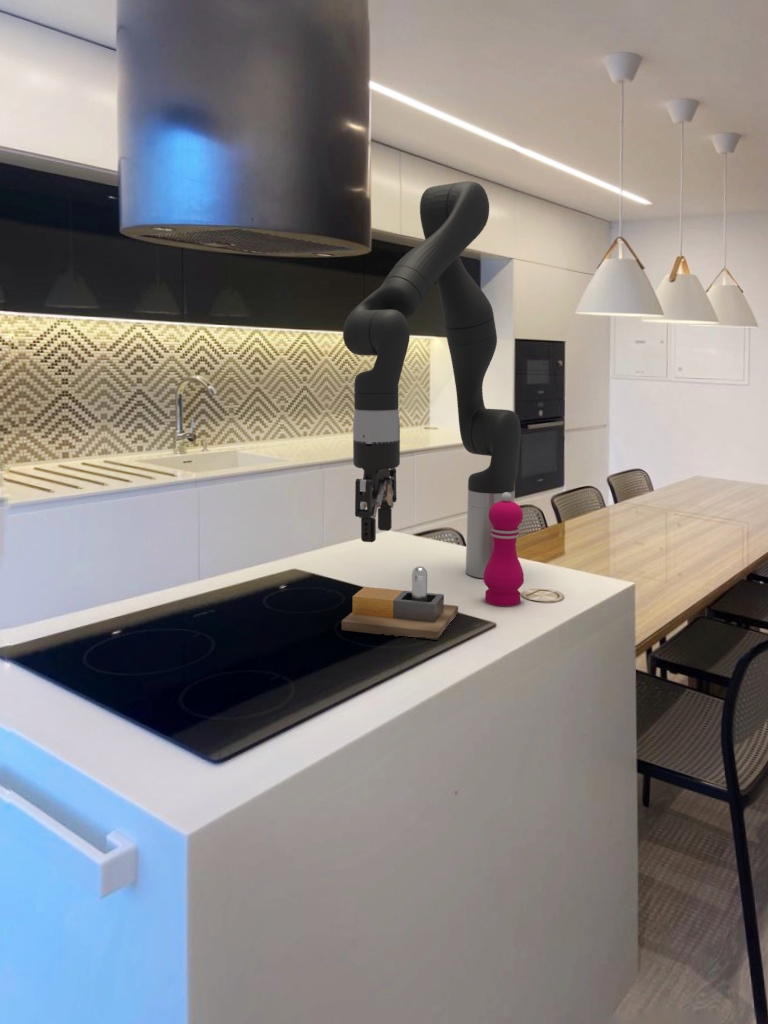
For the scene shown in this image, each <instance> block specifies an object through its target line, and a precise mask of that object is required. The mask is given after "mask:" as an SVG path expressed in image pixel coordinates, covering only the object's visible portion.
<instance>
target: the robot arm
mask: <svg viewBox="0 0 768 1024" xmlns="http://www.w3.org/2000/svg"><path fill="white" fill-rule="evenodd" d="M489 216H490V202H489V197H488V194H487V192H486V189H485V188H484V187H483V186H482V185H481V184H480V183H478V182H476V181H470V180H469V181H459V182H454V183H452V182H451V183H447V184H446V183H445V184H441V185H433V186H430V187H428V188H426V189H425V190H424V191H423V192H422V195H421V197H420V202H419V217H420V224H421V227H422V228H421V229H422V232H423V236H424V241H422V242H420V243H419V244H418V245H416V246H415V247H414V248H412V249H410V251H408V252H407V253H405V254H404V256H402V257H401V258H400V259H399V260H398V261H397V262H396V263H395V265H394V266H393V268H392V269H391V270H390V272H389V274H388V275H387V276H386V278H385V279H384V281H383V282H382V284H381V285H380V286H379V287H378V288H377V289H376V290H374V291H373V292H372V293H371V294H369V295H368V296H367V297H366V298H365V299H363V300H362V301H361V302H360V303H359V304H357V306H355V307H354V309H352V311H351V312H350V313H349V314H348V316H347V318H346V320H345V322H344V325H343V330H342V338H343V342H344V345H345V347H346V348H347V350H348V351H349V352H351V353H352V354H354V355H358V356H363V357H364V356H366V357H367V356H370V357H371V356H376V360H375V363H374V365H373V368H372V369H370V370H365V371H362V372H359V373H358V374H357V375H356V376H355V378H354V383H353V384H354V387H353V388H354V395H353V397H354V398H353V399H354V401H353V402H354V413H353V421H352V430H353V431H352V435H353V436H352V442H353V444H352V445H353V446H352V449H353V451H352V452H353V453H352V454H353V455H352V456H353V458H352V459H353V461H352V462H353V466H354V467H356V468H358V469H362V470H363V474H362V475H363V477H362V478H356V479H355V487H354V489H355V494H354V495H355V496H354V497H355V498H354V501H355V502H354V515H355V517H357V518H359V519H360V523H361V524H360V526H361V527H360V531H361V532H360V534H361V535H360V536H361V538H360V539H361V541H362V542H364V543H374V542H375V541H376V539H377V538H376V537H377V535H376V534H377V531H376V529H377V528H378V530H379V531H384V532H385V531H386V532H388V531H391V529H392V527H393V526H392V519H393V518H392V511H393V510H392V509H393V507H394V505H395V503H396V502H397V499H398V498H397V469H396V468H397V467H400V464H401V462H400V461H401V459H400V458H401V451H400V449H401V425H400V424H401V422H400V416H399V415H400V414H399V382H400V379H401V375H402V372H403V367H404V364H405V359H406V356H407V352H408V348H409V345H410V336H411V334H410V326H409V323H408V321H407V319H410V318H411V317H413V316H414V315H415V313H416V312H417V311H418V309H420V307H421V305H422V304H423V302H424V300H425V299H426V297H427V296H428V294H429V293H430V291H431V289H432V288H433V286H434V285H435V283H436V285H437V288H438V289H437V290H438V295H439V299H440V304H441V310H442V317H443V324H444V330H445V335H446V340H447V346H448V349H449V350H448V351H449V354H450V355H449V356H450V360H451V364H452V371H453V377H454V385H455V392H456V401H457V413H458V425H459V432H460V433H459V434H460V440H461V442H462V445H463V447H464V449H465V450H466V451H467V452H468V453H470V454H473V455H478V456H480V455H481V456H488V457H490V462H489V466H488V467H487V468H485V469H484V470H482V471H478V472H474V473H472V474H470V475H469V476H468V482H467V514H466V516H467V518H466V520H467V521H466V551H465V552H466V554H465V573H466V575H469V577H470V576H471V577H474V578H478V579H483V577H484V571H485V568H486V566H487V564H488V562H489V560H490V558H491V555H492V552H493V546H494V540H493V536H491V533H492V530H491V528H492V527H493V525H492V523H491V522H490V520H489V511H490V508H491V507H492V505H493V504H495V503H497V502H499V501H503V500H502V499H501V496H502V494H503V493H505V492H508V493H510V494H511V500H510V501H512V502H515V489H516V488H515V486H516V481H517V476H518V472H519V460H520V448H521V440H522V438H521V437H522V426H521V420H520V418H519V415H518V414H517V413H516V412H515V411H513V410H510V409H502V408H501V409H498V408H486V406H485V402H484V394H483V386H484V385H483V383H484V379H485V375H486V374H487V371H488V369H489V367H490V364H491V363H492V359H493V357H494V355H495V352H496V348H497V344H498V336H497V329H496V321H495V317H494V309H493V307H492V304H491V302H490V300H489V298H488V297H487V296H486V294H485V293H484V291H483V290H482V289H481V287H480V286H479V285H478V284H477V282H476V281H475V280H474V279H473V278H472V275H470V274H469V272H468V271H467V269H466V267H465V266H464V264H463V262H462V259H461V256H460V255H462V253H463V252H464V251H465V250H466V249H467V248H468V247H469V246H470V244H472V243H473V242H474V241H475V240H476V238H477V237H478V236H480V234H481V233H482V232H483V230H484V229H485V227H486V226H487V223H488V219H489ZM376 517H377V522H376ZM376 523H377V524H376ZM376 527H377V528H376Z"/></svg>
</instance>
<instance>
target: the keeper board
mask: <svg viewBox="0 0 768 1024" xmlns="http://www.w3.org/2000/svg"><path fill="white" fill-rule="evenodd" d="M457 614H458V615H459V605H453V604H444V612H443V613H442V614H441V616H440V617H439V618H438V619H437V621H436V622H435V623H433V622H424V621H414V620H405V619H396V618H386V617H377V616H368V615H358V614H353V611H352V612H351V613H349V614H348V615H347V616H346V617H345V618H343V619H342V620H341V631H349V632H357V633H363V634H364V633H365V634H373V635H381V634H384V635H383V636H390V635H394V636H393V637H398V636H408V637H426V638H438V637H439V636H440V635H441V634H442V632H443V631H444V630H445V629H446V627H447V626H448V625H449V623H450V622H451V621H452V620H453V619H454V618H455V617H457V616H458V615H457ZM456 615H457V616H456ZM455 619H456V618H455ZM455 619H454V620H455ZM454 620H453V621H454Z"/></svg>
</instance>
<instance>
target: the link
mask: <svg viewBox="0 0 768 1024" xmlns="http://www.w3.org/2000/svg"><path fill="white" fill-rule="evenodd" d="M444 605H445V593H444V594H443V593H432V592H427V602H422V601H412V590H401V589H390V588H382V587H372V586H371V587H370V586H363V587H362V588H361V589H360V590H358V591H357V592H356V593H355V594H354V595H352V612H353V614H358V615H368V616H377V617H386V618H396V619H405V620H414V621H424V622H433V623H435V622H436V621H437V619H438V618H439V617H440V616H441V614H442V613H443V612H444Z"/></svg>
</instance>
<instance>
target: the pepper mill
mask: <svg viewBox="0 0 768 1024" xmlns="http://www.w3.org/2000/svg"><path fill="white" fill-rule="evenodd" d="M501 499H502V500H503V501H499V502H497V503H495V504H493V505H492V507H491V508H490V511H489V520H490V522H491V523H492V525H493V527H492V528H491V530H492V533H491V536H493V540H494V546H493V552H492V555H491V558H490V560H489V562H488V564H487V566H486V568H485V571H484V577H483V578H482V579H483V580H482V581H483V583H484V585H485V586H486V587H487V588H488V589H486V591H485V594H484V595H485V597H484V598H485V602H486V603H487V604H488V605H492V606H496V607H514V606H517V605H519V604H520V603H521V592H520V591H519V589H520V588H521V587H522V586H523V584H524V581H525V578H524V570H523V567H522V565H521V562H520V560H519V558H518V553H517V538H519V536H520V528H518V527H519V526H520V524H521V523H522V522H523V520H524V516H523V515H524V514H523V513H524V511H523V509H522V508H521V506H520V505H519V504H518V503H516V502H515V501H514V502H512V501H510V500H511V494H510V493H508V492H505V493H503V494H502V496H501Z"/></svg>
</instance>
